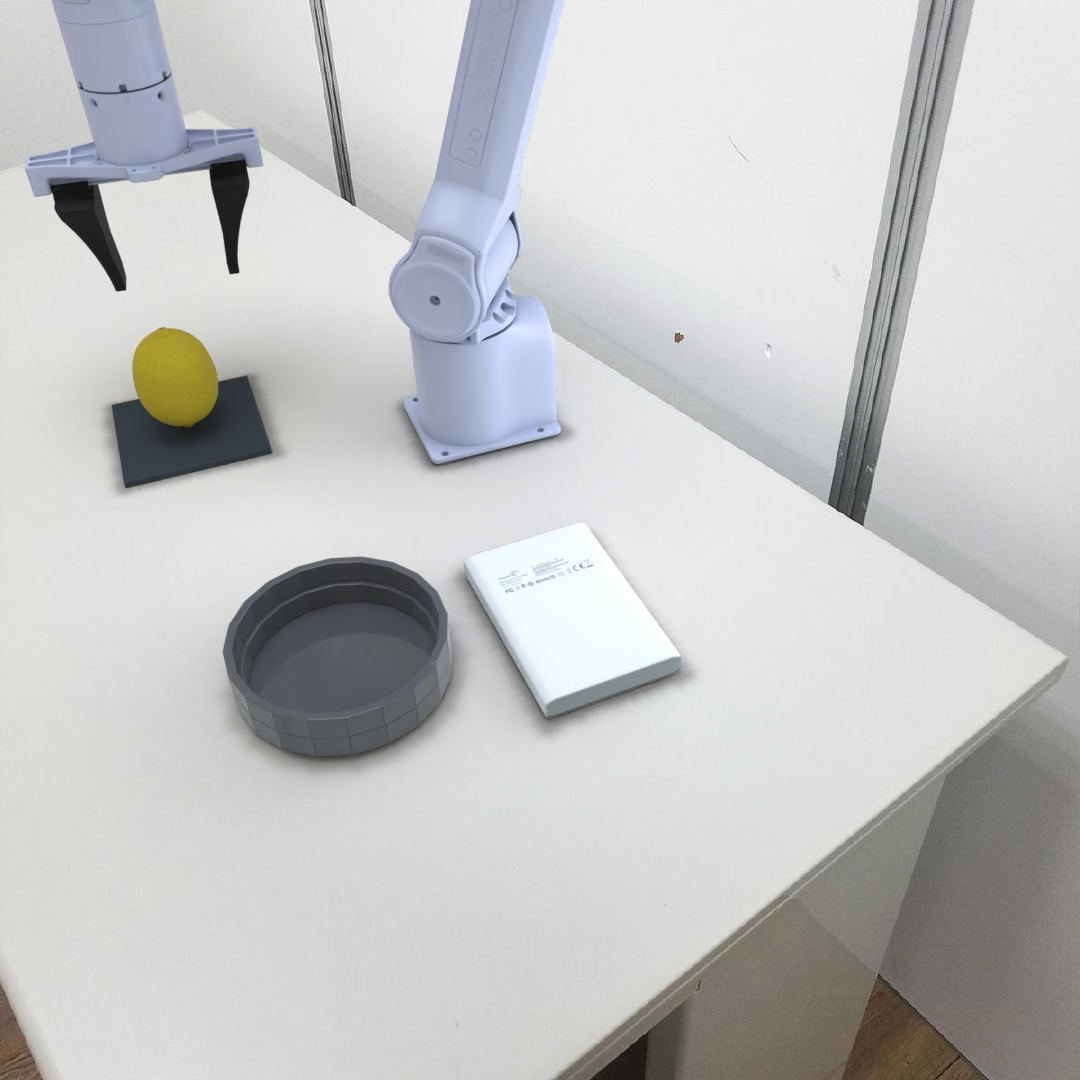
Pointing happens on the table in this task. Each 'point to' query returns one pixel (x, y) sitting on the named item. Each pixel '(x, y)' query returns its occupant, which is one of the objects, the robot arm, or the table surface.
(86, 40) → the robot arm
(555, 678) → the hard drive
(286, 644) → the pan
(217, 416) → the mat
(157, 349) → the lemon
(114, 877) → the table surface
